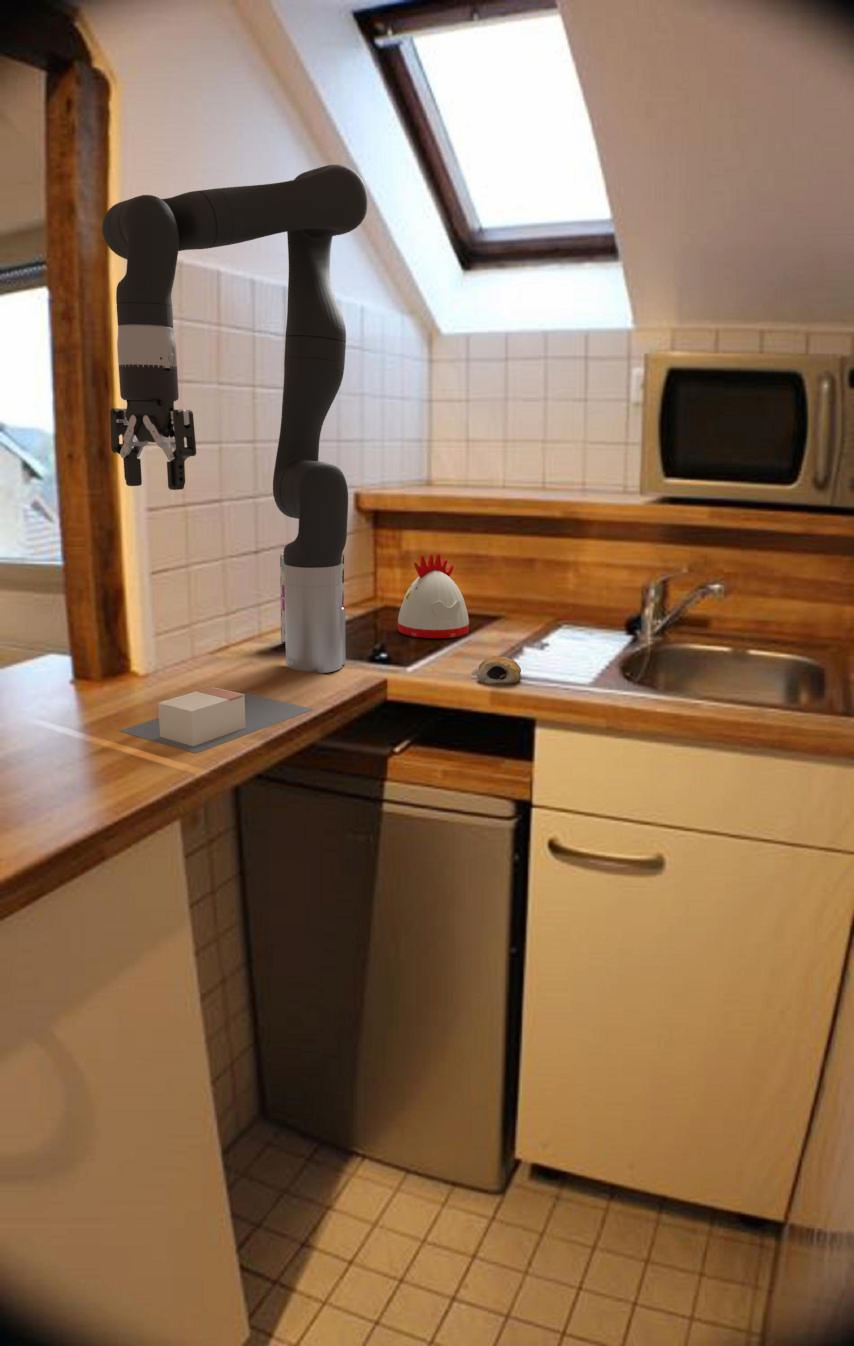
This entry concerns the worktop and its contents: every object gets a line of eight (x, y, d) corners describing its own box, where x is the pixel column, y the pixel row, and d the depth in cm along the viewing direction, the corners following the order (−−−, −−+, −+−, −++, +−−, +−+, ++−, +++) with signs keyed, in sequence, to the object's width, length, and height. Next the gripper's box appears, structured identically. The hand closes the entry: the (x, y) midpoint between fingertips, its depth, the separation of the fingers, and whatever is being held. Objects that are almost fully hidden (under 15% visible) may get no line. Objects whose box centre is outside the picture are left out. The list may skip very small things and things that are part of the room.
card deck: (160, 736, 118) (157, 702, 116) (212, 719, 125) (211, 686, 124) (193, 746, 114) (191, 711, 113) (245, 727, 122) (244, 694, 120)
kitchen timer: (387, 625, 186) (387, 550, 182) (448, 620, 192) (450, 548, 188) (415, 640, 174) (417, 560, 170) (480, 635, 180) (483, 557, 176)
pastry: (483, 669, 156) (484, 647, 155) (524, 672, 154) (525, 650, 154) (475, 684, 147) (476, 660, 146) (518, 687, 146) (519, 663, 145)
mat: (241, 695, 137) (240, 691, 137) (314, 713, 130) (314, 709, 130) (119, 735, 120) (118, 730, 119) (195, 757, 112) (195, 753, 112)
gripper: (89, 362, 125) (98, 486, 129) (162, 360, 117) (169, 492, 121) (134, 365, 131) (141, 483, 135) (206, 364, 123) (212, 489, 127)
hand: (155, 487), depth 128 cm, fingers open, 8 cm apart
